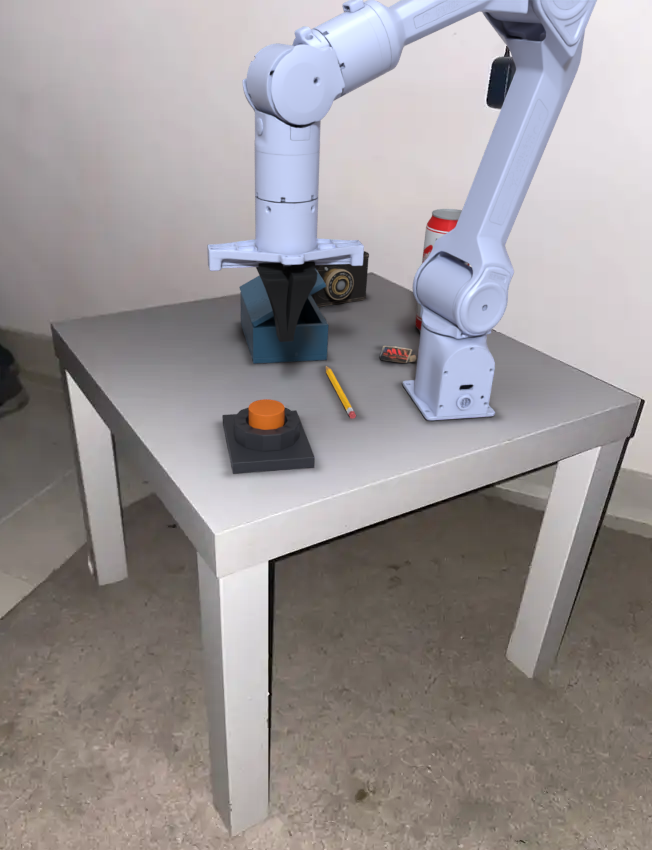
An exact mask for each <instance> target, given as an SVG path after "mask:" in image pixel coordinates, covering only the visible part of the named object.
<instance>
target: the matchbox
mask: <svg viewBox="0 0 652 850" xmlns="http://www.w3.org/2000/svg"><path fill="white" fill-rule="evenodd" d="M412 352H413V349H411V348H407V347H399V346H397V345H395V346H390V345H383V346H382V348H381V352H380V353H379V358H380V360H381V361H386V362H394V363H402V364H403V363H404V364H407V363H414V362H416V361H417V356H416V354H412ZM390 364H393V363H390Z"/></svg>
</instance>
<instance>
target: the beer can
mask: <svg viewBox="0 0 652 850" xmlns="http://www.w3.org/2000/svg"><path fill="white" fill-rule="evenodd" d="M461 212H462V209H456V208H439V209H434V210H432V211H431V217H430V218H429V220H428V221H427V222H426V226H425V232H424V242H423V251H422V259H421V264H422V263H423V262H424V261H425V260H426V259H427V258H428V256H429V255H430V253H431V251H432V249H433V246H434V244H435V241H436V240H437V239H439V238H440V237H442V236H443V235H445V234H446V233H448V232H450V231H451V230H453V229H454V228H455V227H456V225H457V222H458V219H459V217H460V214H461ZM465 264H466V265H468V266H470V267H471V265H470V264H469V263H467V262H466V263H465ZM416 303H417V305H416V313H415V327H416V329H417V330H418V331H419V333H421V324H422V317H421V316H420V313H421V305H420V304H418V302H416Z"/></svg>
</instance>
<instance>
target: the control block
mask: <svg viewBox="0 0 652 850" xmlns="http://www.w3.org/2000/svg"><path fill="white" fill-rule="evenodd" d="M222 427H223V433H224V437H225V442H226V448H227V452H228V456H229V462H230V467H231V472H232V474H235V475H236V474H248V473H260V472H273V471H274V472H275V471H286V470H287V471H288V470H301V469H302V470H303V469H314V468H315V461H316V460H315V459H316V457H315V454H314V452H313V449H312V446H311V444H310V442H309V438H308V436H307V434H306V431H305V429H304V428H305V427H304V425H303V423H302V421H301V419H300V415H299V413H298V411H297V410H292V409H289V408H288V407H285V421H284V425H283V426H282V427H279V428H277V429H269V430H263V429H258V428H253V427H251V426H250V425H249V406H248V407H246V408H243V409H240V410H239V411H238V412H237V413H231V414H222Z"/></svg>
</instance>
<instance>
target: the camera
mask: <svg viewBox="0 0 652 850" xmlns="http://www.w3.org/2000/svg"><path fill="white" fill-rule="evenodd" d="M369 258H370V253H369V252H368V251H365V250H364V254H363V265H362V266H352V265H351V264H332V265H315V268H316V270H317V271H318V273H319V274H320V276H321V277H322V279H323V281H324V282H325V284H326V287H324V288H323V289H321V290H319V291H317V292H315V293H314V294H312V295H311V296H312V297H313V299H314V301H315V303H316V304H317V306H318V308H319V307H326V306H333V305H340V304H347V303H353V302H359V301H364V300H366V298H367V284H368V270H369Z"/></svg>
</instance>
